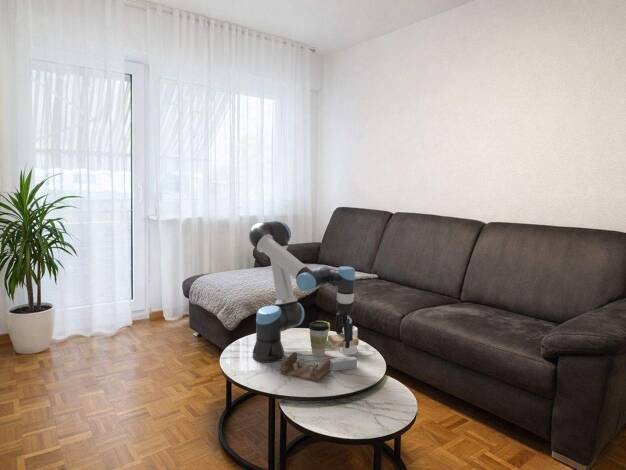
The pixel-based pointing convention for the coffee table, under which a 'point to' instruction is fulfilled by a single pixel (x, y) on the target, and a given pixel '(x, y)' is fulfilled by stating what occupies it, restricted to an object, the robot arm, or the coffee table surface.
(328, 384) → the coffee table surface
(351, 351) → the mug
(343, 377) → the coffee table surface
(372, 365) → the coffee table surface
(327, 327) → the coffee cup
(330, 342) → the board
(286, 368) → the cradle
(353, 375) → the coffee table surface
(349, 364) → the wedge
